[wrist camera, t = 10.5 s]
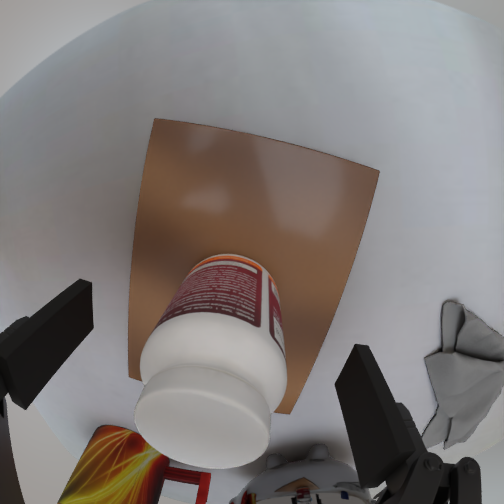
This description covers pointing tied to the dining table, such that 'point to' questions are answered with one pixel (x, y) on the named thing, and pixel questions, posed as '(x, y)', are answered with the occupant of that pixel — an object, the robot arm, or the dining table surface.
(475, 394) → the cloth
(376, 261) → the dining table surface
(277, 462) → the piggy bank
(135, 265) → the cork mat
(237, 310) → the pill bottle
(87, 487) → the mug
